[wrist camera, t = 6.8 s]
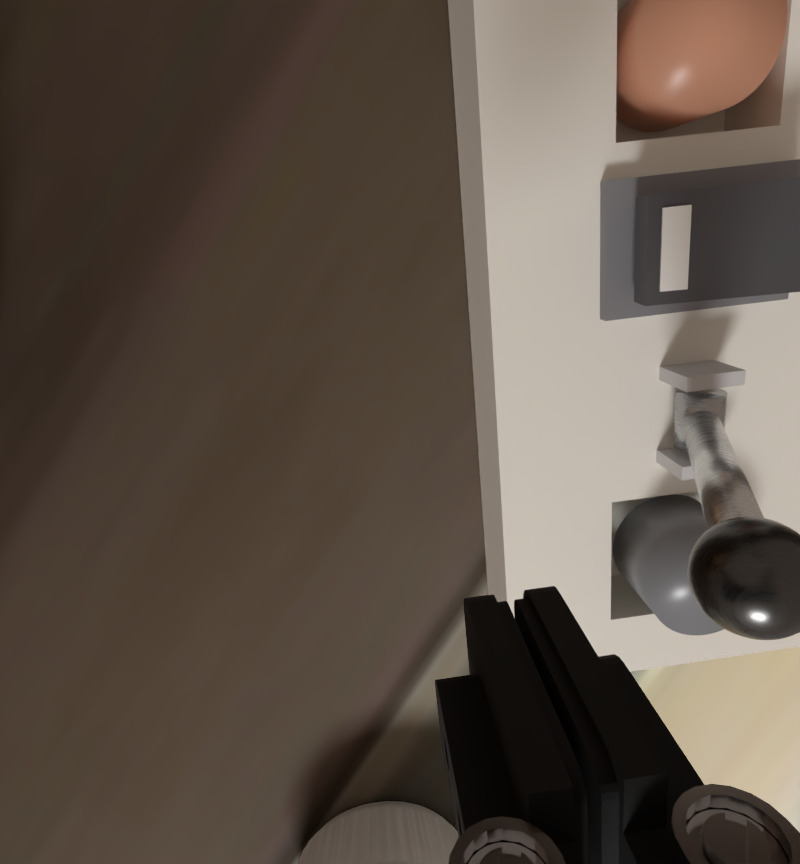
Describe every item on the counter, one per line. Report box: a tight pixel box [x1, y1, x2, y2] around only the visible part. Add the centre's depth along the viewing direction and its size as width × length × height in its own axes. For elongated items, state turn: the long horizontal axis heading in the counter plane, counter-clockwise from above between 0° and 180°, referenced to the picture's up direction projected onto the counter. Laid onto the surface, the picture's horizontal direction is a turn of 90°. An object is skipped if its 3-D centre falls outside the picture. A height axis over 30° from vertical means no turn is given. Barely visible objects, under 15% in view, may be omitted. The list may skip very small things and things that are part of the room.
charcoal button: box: [613, 494, 724, 635], centre depth 23 cm, size 4×4×3 cm
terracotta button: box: [616, 0, 788, 132], centre depth 18 cm, size 4×4×3 cm
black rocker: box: [634, 177, 800, 306], centre depth 17 cm, size 3×5×1 cm, turn 96°
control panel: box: [448, 0, 800, 671], centre depth 21 cm, size 29×14×6 cm, turn 6°
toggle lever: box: [673, 388, 800, 640], centre depth 16 cm, size 2×2×12 cm
